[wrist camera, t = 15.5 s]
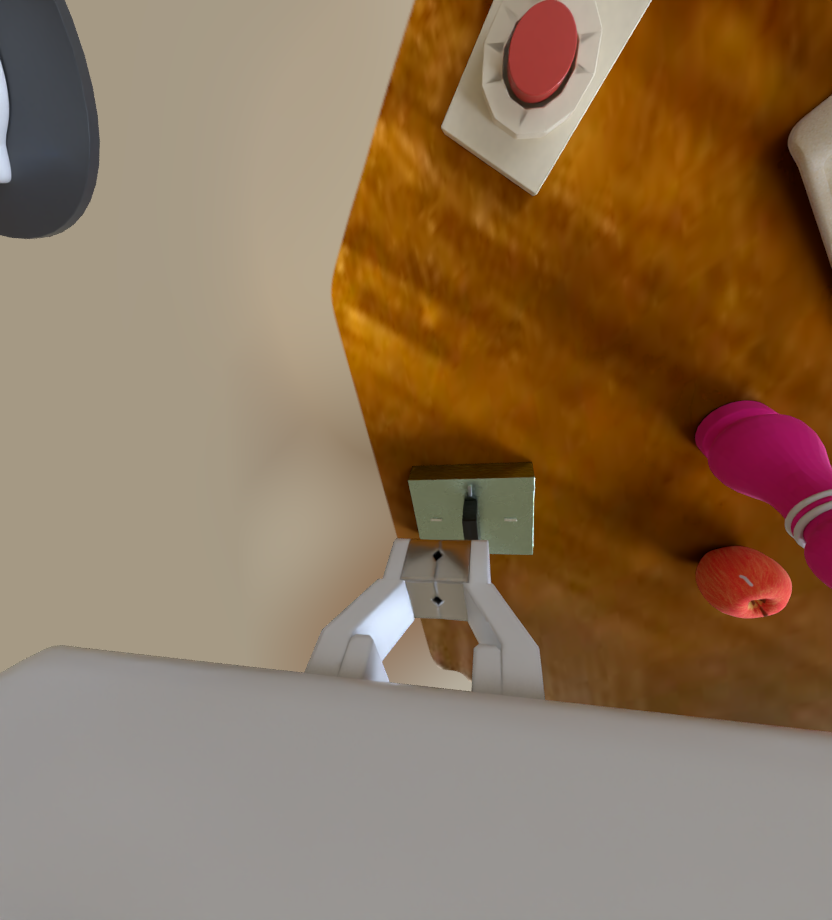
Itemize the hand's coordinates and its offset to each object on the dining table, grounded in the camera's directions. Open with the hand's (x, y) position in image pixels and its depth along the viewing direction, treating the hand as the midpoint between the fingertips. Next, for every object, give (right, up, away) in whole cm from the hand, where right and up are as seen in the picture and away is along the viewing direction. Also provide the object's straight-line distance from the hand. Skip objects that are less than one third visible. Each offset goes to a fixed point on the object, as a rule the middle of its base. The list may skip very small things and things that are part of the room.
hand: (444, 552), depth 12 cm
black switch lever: (+6, -4, +31) cm, 32 cm away
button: (+6, +27, +9) cm, 29 cm away
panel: (+6, -3, +34) cm, 34 cm away
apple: (+37, -9, +32) cm, 49 cm away
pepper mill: (+30, +6, +23) cm, 38 cm away
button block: (+7, +28, +12) cm, 32 cm away
